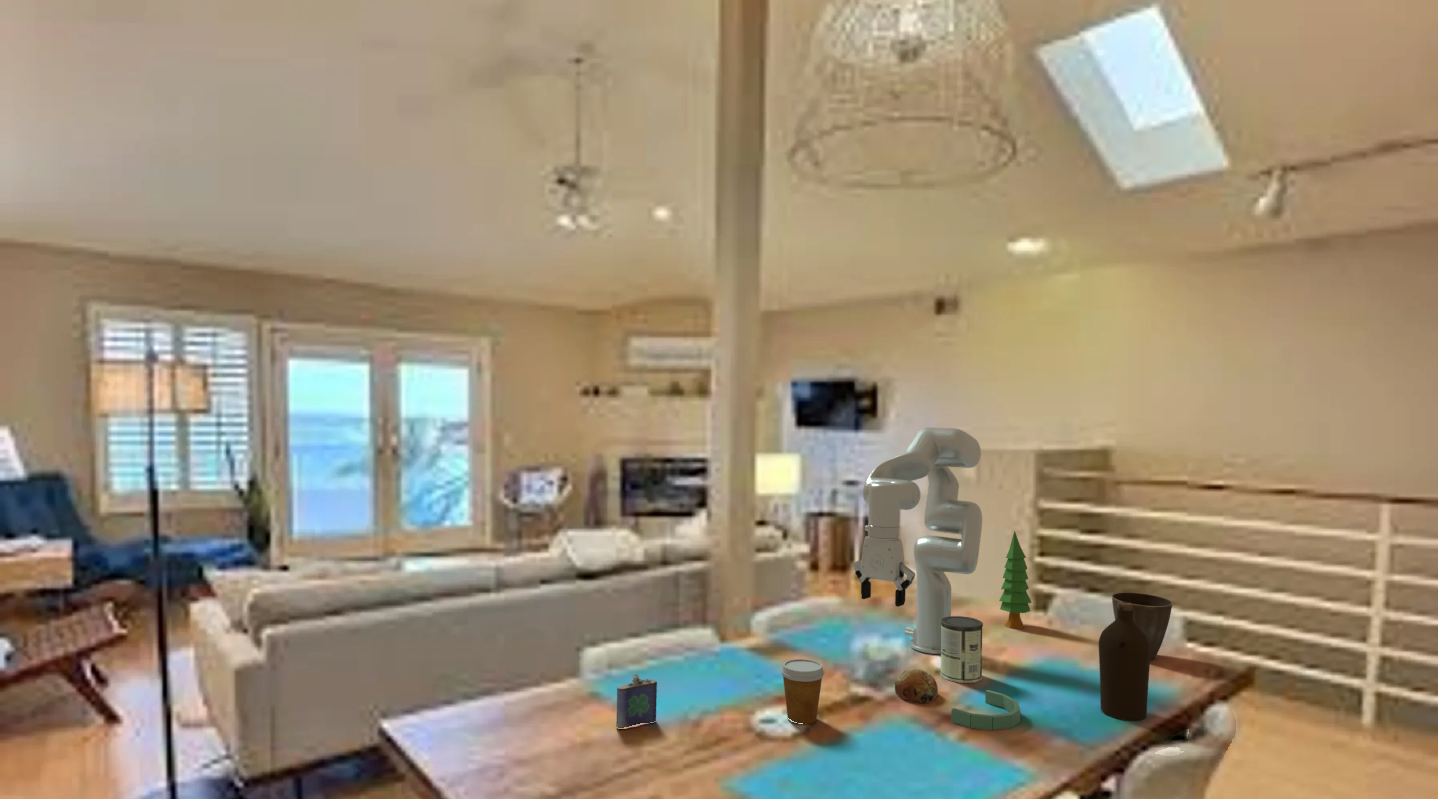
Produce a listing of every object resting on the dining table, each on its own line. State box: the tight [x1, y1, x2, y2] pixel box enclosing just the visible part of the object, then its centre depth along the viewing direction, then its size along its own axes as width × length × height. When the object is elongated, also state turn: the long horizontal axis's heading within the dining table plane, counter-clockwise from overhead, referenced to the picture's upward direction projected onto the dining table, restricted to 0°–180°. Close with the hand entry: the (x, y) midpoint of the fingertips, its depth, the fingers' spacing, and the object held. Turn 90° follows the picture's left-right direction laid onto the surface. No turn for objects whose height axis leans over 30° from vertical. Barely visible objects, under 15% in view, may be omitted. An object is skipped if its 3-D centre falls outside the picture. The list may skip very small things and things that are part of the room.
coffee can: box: [940, 615, 984, 684], centre depth 209 cm, size 10×10×14 cm
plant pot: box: [1111, 591, 1173, 661], centre depth 227 cm, size 15×15×16 cm
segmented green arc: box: [950, 689, 1021, 731], centre depth 183 cm, size 11×17×3 cm, turn 136°
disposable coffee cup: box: [780, 658, 825, 725], centre depth 181 cm, size 10×10×12 cm
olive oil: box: [1098, 602, 1151, 722], centre depth 186 cm, size 11×11×25 cm
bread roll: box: [894, 668, 939, 704], centre depth 196 cm, size 10×10×8 cm
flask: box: [615, 673, 658, 728], centre depth 177 cm, size 9×3×11 cm, turn 121°
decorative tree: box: [998, 530, 1032, 630], centre depth 256 cm, size 10×9×30 cm
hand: (882, 601), depth 203 cm, fingers open, 9 cm apart
